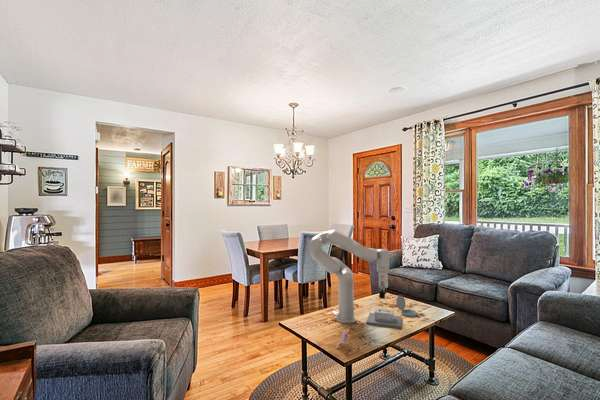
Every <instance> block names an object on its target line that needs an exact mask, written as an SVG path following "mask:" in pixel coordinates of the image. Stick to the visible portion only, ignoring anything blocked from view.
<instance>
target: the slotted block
mask: <svg viewBox="0 0 600 400" xmlns="http://www.w3.org/2000/svg"><path fill="white" fill-rule="evenodd" d="M380 311H385V312H380ZM373 313H374V317H375V320H378V321H386V322H393V319H394V316H395V314H394V310H393V309H387V308H386V309H385V308H377V307H376V308H375V309H374V312H373Z"/></svg>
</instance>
